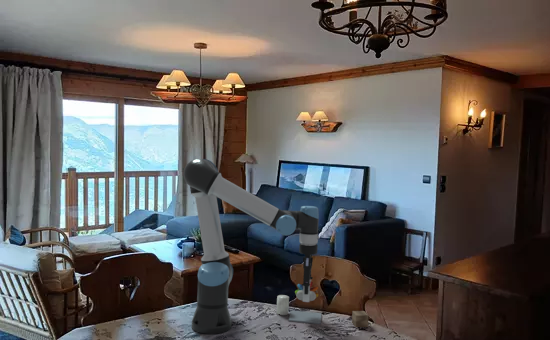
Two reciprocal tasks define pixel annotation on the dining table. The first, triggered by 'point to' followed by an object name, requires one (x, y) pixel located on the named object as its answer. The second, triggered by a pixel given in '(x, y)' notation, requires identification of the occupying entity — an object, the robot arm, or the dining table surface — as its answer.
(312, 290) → the rainbow wheeled toy
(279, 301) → the white glossy rounded part
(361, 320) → the walnut block
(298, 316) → the felt mat
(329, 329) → the dining table surface
